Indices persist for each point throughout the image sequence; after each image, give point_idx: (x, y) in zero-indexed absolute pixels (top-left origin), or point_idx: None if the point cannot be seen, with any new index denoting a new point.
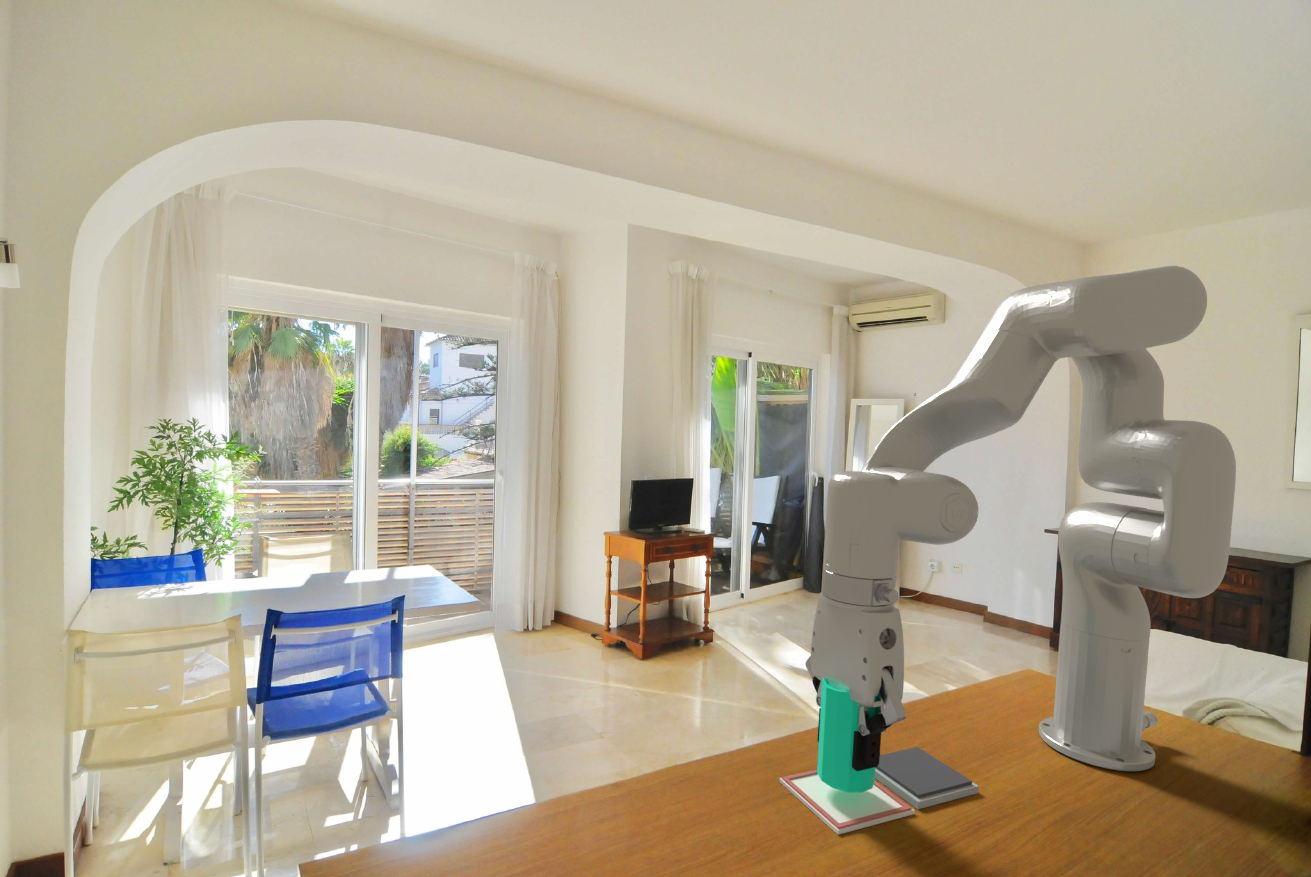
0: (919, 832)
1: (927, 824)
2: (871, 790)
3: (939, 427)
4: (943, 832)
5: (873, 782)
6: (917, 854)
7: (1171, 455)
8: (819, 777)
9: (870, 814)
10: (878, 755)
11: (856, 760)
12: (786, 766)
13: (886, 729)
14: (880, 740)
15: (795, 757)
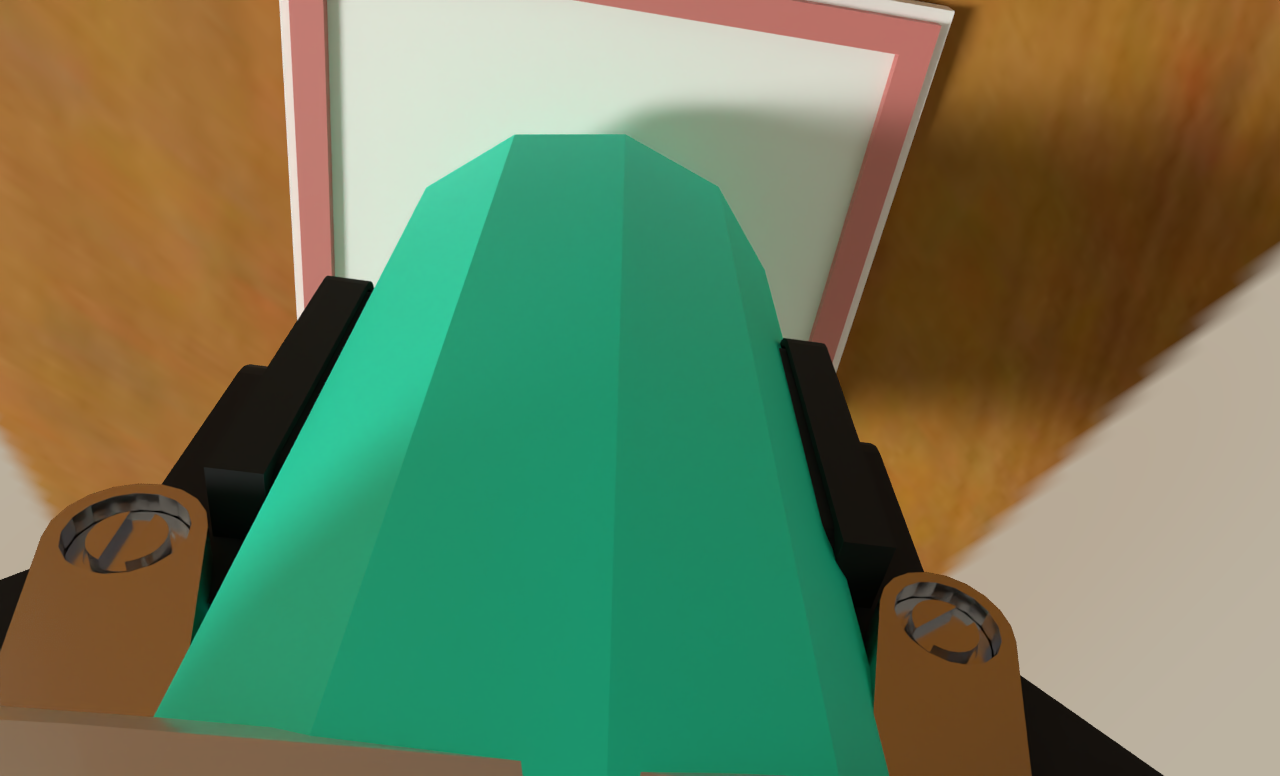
0: (1052, 145)
1: (1056, 25)
2: (640, 77)
3: None
4: (1166, 7)
5: (747, 243)
6: (1118, 312)
7: None
8: (376, 264)
9: (803, 292)
10: (882, 468)
11: None
12: (167, 304)
13: (1005, 620)
14: (866, 467)
15: (67, 177)
